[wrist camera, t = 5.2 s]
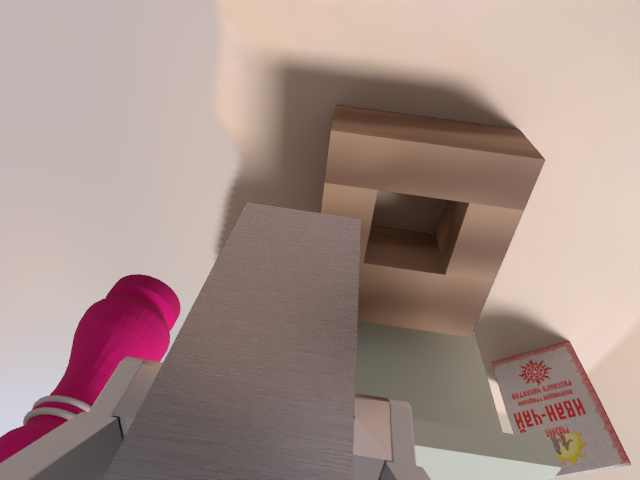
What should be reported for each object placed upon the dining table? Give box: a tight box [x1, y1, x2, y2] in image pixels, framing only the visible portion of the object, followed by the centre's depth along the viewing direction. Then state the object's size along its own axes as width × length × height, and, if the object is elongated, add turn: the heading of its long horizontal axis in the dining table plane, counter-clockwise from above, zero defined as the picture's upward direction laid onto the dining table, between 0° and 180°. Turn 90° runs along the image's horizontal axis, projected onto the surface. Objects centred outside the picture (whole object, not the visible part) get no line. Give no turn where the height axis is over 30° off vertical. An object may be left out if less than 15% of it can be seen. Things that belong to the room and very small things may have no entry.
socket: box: [321, 105, 545, 337], centre depth 30 cm, size 14×12×5 cm
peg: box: [103, 202, 361, 480], centre depth 11 cm, size 4×4×12 cm
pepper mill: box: [0, 274, 180, 463], centre depth 32 cm, size 7×7×20 cm
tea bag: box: [492, 341, 631, 479], centre depth 35 cm, size 4×7×10 cm, turn 121°
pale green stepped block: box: [355, 321, 562, 480], centre depth 30 cm, size 6×16×16 cm, turn 84°
